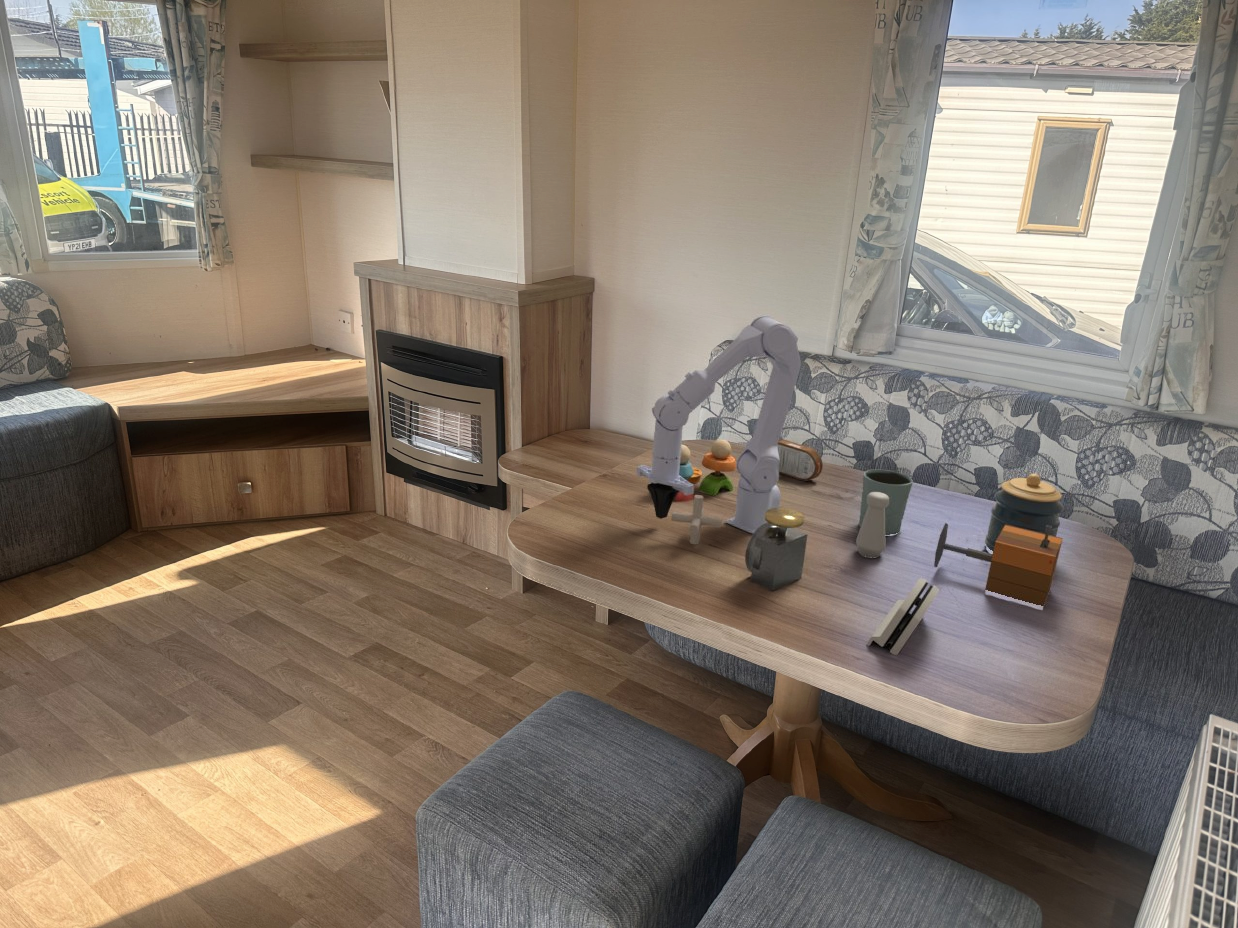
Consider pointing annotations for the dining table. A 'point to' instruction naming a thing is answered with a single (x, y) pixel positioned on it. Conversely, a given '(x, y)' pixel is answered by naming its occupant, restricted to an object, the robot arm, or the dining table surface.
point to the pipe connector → (696, 519)
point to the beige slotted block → (904, 617)
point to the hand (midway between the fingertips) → (661, 516)
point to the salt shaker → (873, 526)
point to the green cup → (894, 488)
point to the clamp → (1016, 562)
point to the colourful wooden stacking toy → (713, 461)
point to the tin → (798, 461)
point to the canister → (1025, 507)
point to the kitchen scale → (777, 549)
